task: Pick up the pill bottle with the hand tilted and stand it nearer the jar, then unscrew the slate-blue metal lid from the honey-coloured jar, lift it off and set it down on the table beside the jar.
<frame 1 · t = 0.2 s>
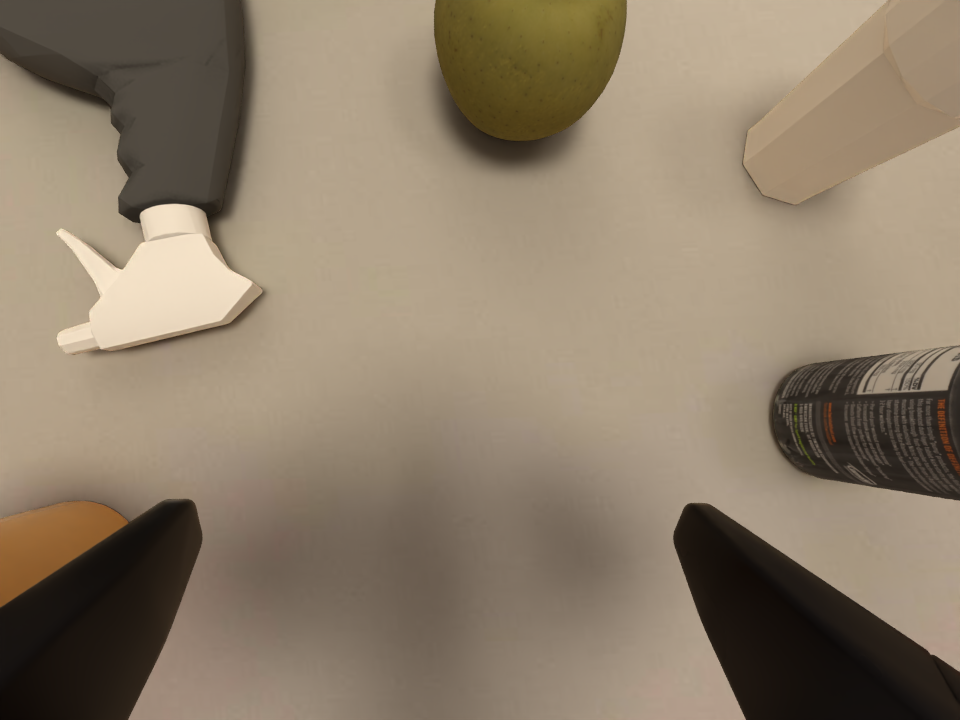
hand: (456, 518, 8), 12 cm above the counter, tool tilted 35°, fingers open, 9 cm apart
cup: (781, 161, 25), on the counter
pill bottle: (815, 419, 23), on the counter
spray bottle: (140, 82, 20), on the counter
apple: (506, 103, 23), on the counter
jar: (71, 567, 18), on the counter
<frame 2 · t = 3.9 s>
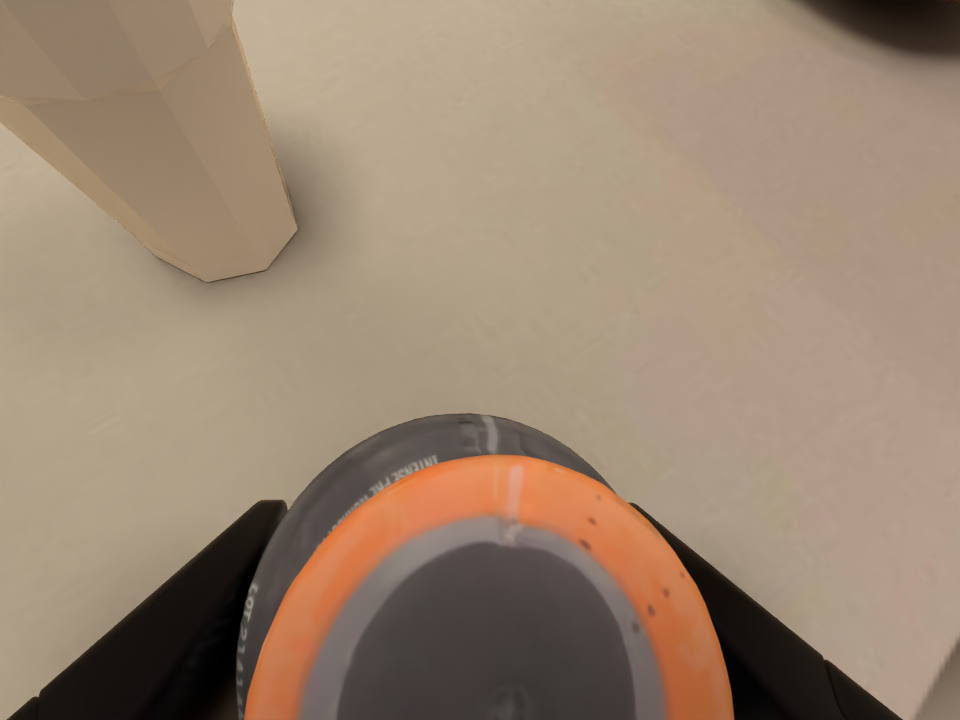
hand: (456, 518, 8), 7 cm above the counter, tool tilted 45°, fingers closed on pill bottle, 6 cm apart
cup: (226, 222, 17), on the counter
pill bottle: (434, 558, 14), on the counter, touching gripper
when the fingers open (7 cm above the counter, at t = 9.2 s): pill bottle stays where it is, on the counter.
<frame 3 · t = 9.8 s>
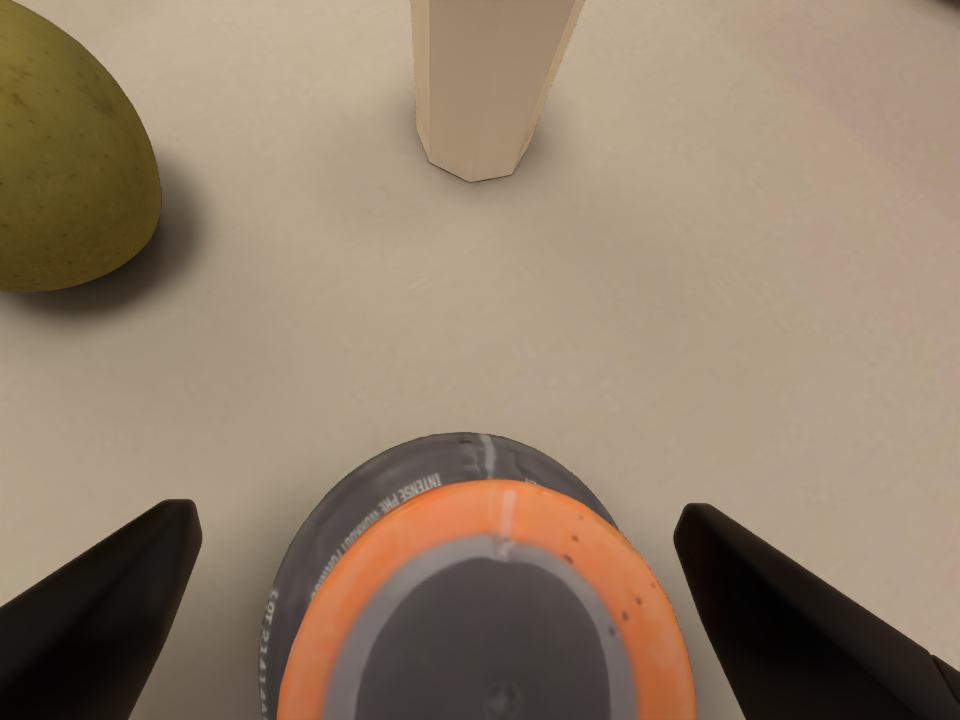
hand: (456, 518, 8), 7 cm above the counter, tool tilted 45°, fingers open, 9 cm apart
cup: (472, 139, 21), on the counter
pill bottle: (435, 562, 15), on the counter
apple: (90, 236, 16), on the counter
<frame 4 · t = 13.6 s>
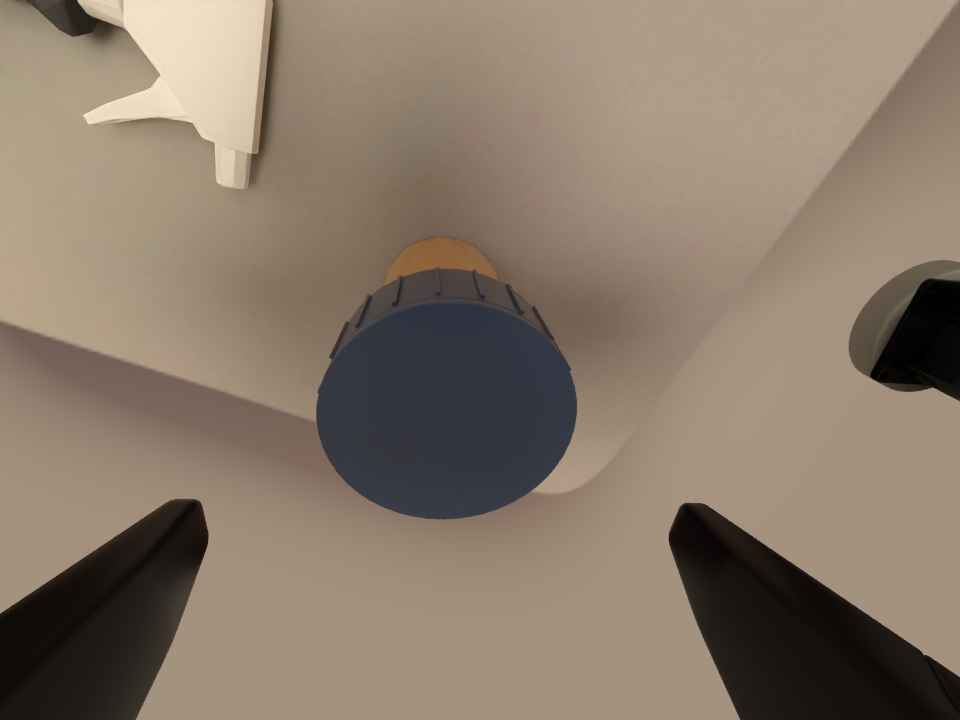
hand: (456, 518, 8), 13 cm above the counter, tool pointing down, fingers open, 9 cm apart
jar lid: (450, 418, 11), point 10 cm above the counter, screwed on, not yet turned
jar: (442, 295, 20), on the counter
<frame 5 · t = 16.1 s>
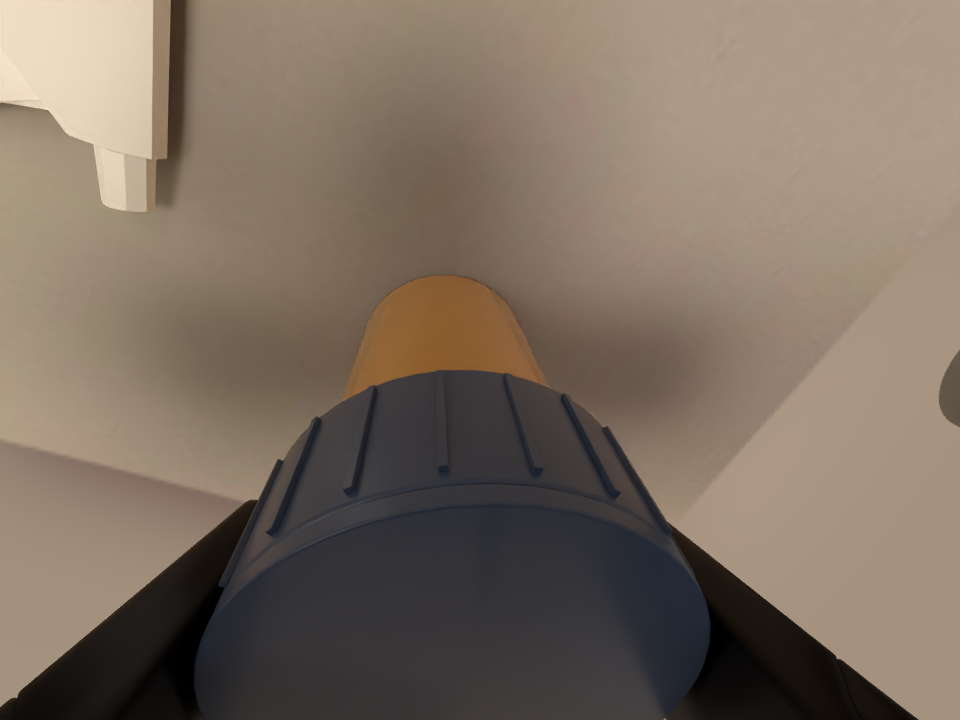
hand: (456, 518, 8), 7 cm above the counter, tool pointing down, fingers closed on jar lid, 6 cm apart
jar lid: (464, 667, 6), point 10 cm above the counter, screwed on, not yet turned, touching gripper
jar: (444, 352, 14), on the counter
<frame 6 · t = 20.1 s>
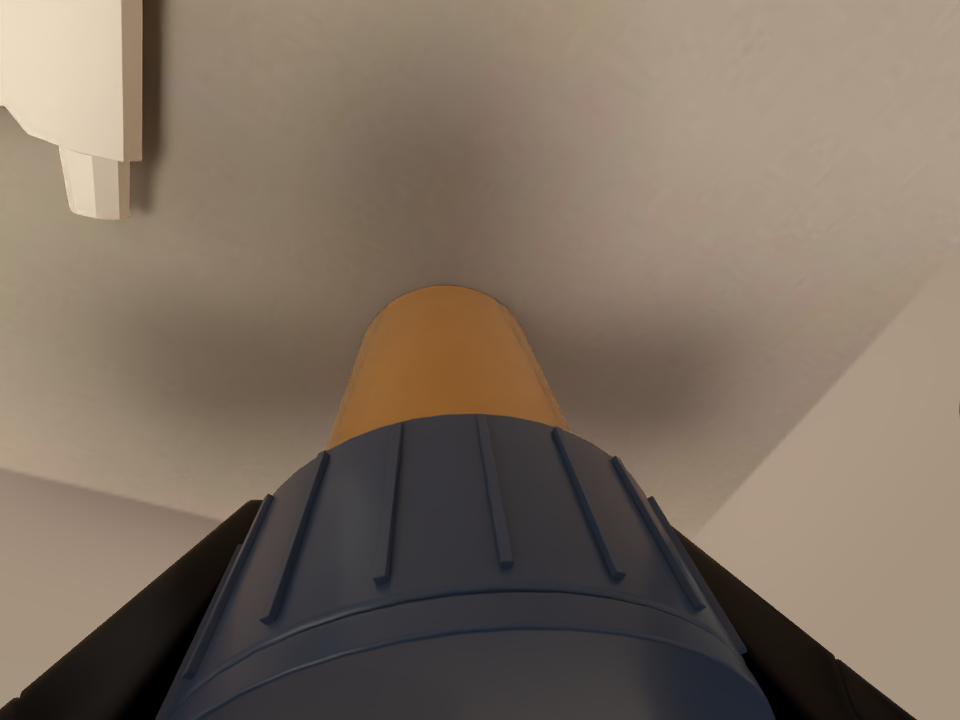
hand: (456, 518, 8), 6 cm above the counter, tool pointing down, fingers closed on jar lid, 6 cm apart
jar: (445, 366, 14), on the counter
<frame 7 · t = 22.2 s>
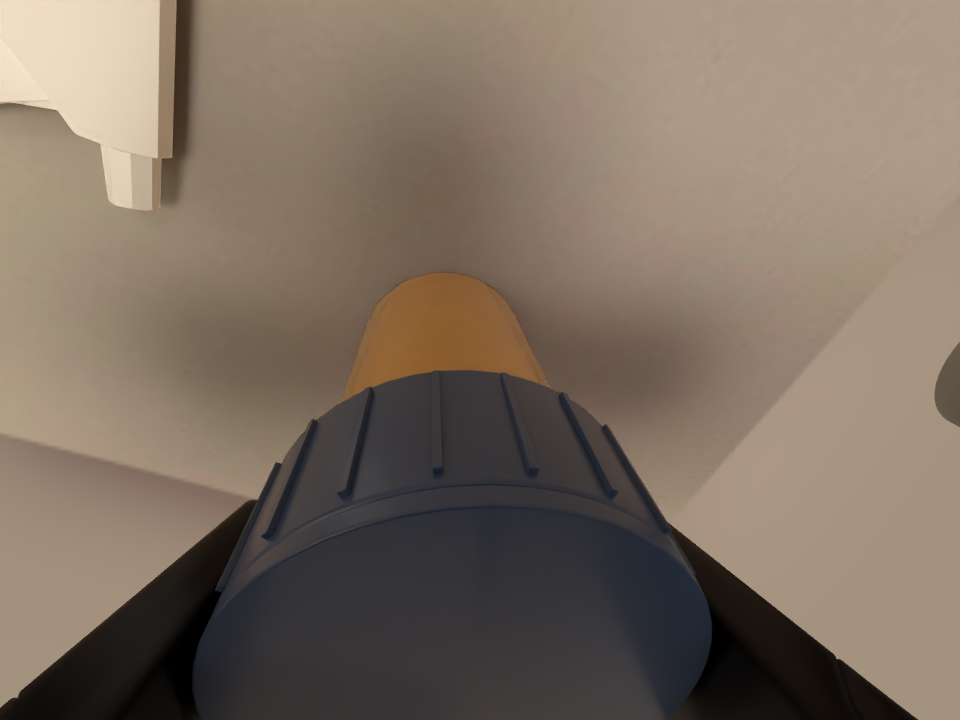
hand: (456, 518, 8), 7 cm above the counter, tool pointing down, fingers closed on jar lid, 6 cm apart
jar lid: (464, 668, 6), point 10 cm above the counter, turned 91° so far, risen 0.2 cm, still on its thread, touching gripper
jar: (444, 348, 15), on the counter
when the fingers open (0 cm above the counter, at t = 30.2 s): jar lid stays where it is, point 2 cm above the counter.
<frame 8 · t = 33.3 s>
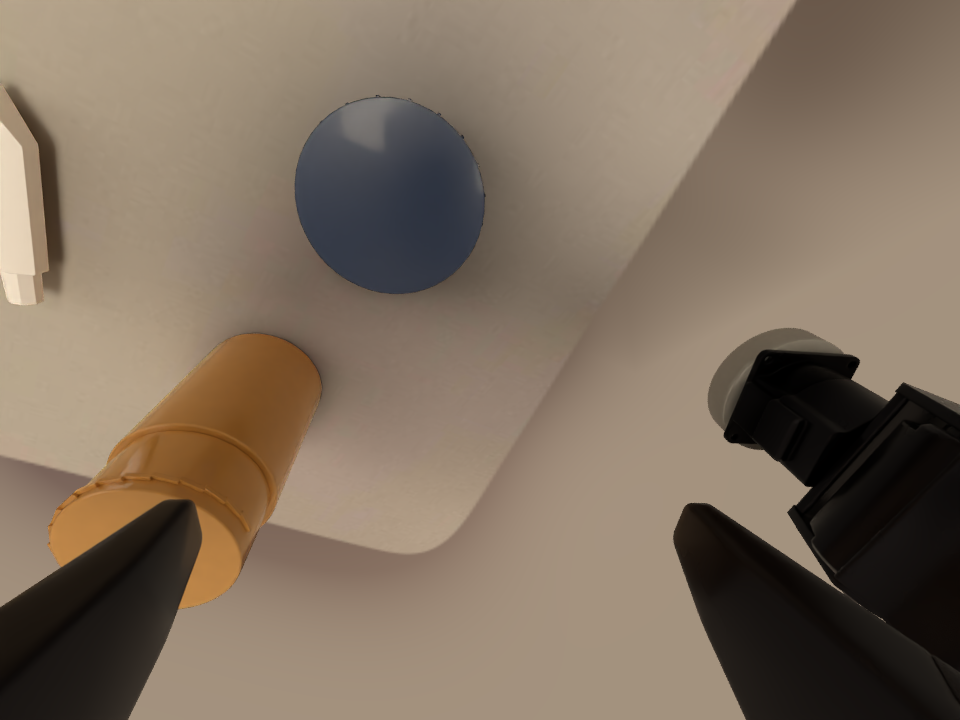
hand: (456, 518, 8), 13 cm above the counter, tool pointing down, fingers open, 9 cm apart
jar lid: (392, 203, 15), point 2 cm above the counter, off its thread
jar: (264, 383, 21), on the counter
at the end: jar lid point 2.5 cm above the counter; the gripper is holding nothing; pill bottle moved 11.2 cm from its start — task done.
